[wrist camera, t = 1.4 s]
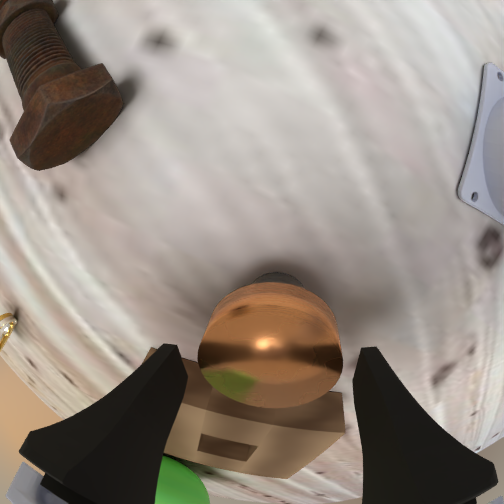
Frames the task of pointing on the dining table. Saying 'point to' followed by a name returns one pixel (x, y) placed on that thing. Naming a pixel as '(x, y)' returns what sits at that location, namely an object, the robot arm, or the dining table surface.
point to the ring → (11, 322)
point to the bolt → (52, 88)
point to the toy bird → (179, 485)
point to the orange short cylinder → (271, 344)
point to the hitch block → (251, 430)
